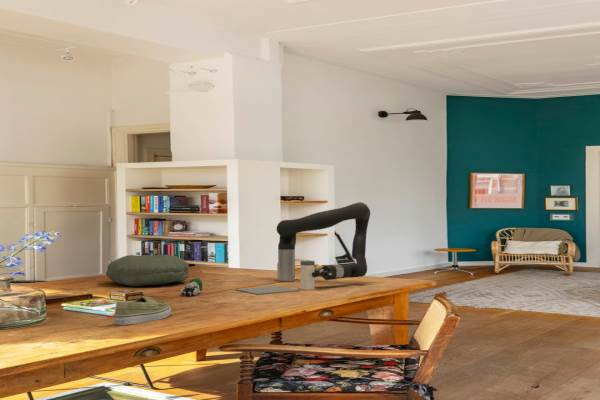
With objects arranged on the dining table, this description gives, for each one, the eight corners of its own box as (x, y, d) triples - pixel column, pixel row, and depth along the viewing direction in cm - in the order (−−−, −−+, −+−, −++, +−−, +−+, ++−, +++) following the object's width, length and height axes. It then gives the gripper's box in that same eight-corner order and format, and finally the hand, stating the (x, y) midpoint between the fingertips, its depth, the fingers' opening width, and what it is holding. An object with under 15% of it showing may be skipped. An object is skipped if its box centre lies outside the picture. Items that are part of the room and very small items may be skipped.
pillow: (94, 283, 390) (131, 291, 359) (94, 255, 389) (132, 261, 359) (165, 277, 418) (205, 284, 387) (165, 251, 418) (205, 256, 387)
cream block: (300, 288, 367) (300, 260, 367) (308, 288, 370) (308, 260, 370) (306, 289, 363) (306, 261, 363) (314, 289, 366) (314, 261, 366)
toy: (196, 303, 337) (208, 290, 351) (194, 288, 336) (206, 276, 349) (178, 302, 340) (191, 290, 354) (177, 287, 338) (189, 276, 352)
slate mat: (235, 290, 361) (235, 289, 361) (276, 286, 375) (276, 285, 375) (257, 294, 345) (257, 293, 345) (299, 291, 359) (299, 290, 359)
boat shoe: (178, 315, 286) (178, 292, 286) (132, 327, 260) (132, 302, 260) (156, 314, 290) (156, 291, 290) (108, 325, 264) (108, 300, 264)
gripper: (324, 263, 382) (298, 265, 372) (341, 265, 370) (315, 267, 360) (324, 278, 382) (298, 280, 372) (341, 280, 370) (315, 282, 361)
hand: (307, 273), depth 366 cm, fingers open, 8 cm apart
